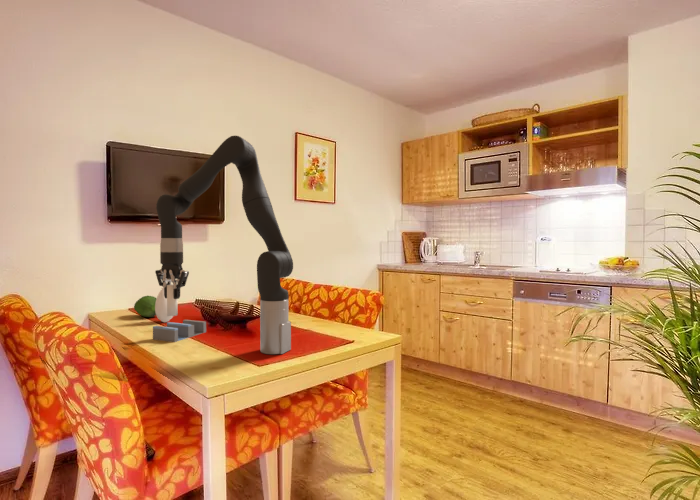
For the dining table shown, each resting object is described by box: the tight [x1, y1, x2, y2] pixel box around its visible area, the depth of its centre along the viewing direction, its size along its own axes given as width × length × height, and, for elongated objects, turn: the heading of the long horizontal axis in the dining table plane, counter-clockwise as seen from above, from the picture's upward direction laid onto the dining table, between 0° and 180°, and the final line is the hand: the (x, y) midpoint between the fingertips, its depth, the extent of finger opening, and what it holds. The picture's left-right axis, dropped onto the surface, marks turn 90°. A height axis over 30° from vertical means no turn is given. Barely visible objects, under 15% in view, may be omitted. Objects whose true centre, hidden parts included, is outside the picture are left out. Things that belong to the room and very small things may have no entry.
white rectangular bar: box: [167, 283, 179, 317], centre depth 144 cm, size 4×4×11 cm
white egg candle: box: [155, 286, 174, 323], centre depth 176 cm, size 8×8×18 cm
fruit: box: [133, 295, 157, 318], centre depth 187 cm, size 15×10×10 cm, turn 54°
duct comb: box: [152, 319, 207, 343], centre depth 148 cm, size 10×16×6 cm, turn 160°
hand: (172, 298), depth 144 cm, fingers closed on white rectangular bar, 3 cm apart
